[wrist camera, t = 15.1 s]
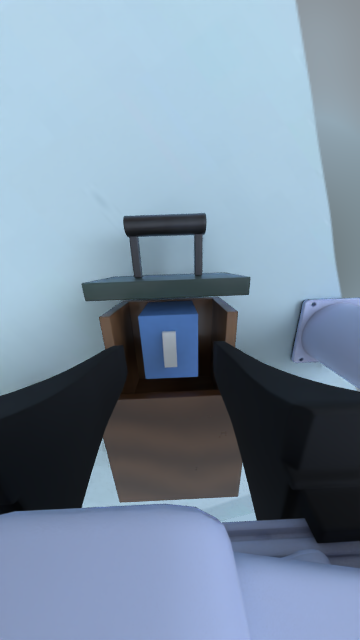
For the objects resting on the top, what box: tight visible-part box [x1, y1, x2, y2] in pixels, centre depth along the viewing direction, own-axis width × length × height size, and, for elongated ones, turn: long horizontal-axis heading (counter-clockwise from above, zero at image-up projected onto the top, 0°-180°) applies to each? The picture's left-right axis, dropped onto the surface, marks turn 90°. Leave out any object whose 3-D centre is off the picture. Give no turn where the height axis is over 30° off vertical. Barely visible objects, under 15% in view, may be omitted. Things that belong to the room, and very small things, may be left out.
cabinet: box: [103, 390, 242, 502], centre depth 19 cm, size 13×12×8 cm
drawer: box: [82, 213, 250, 394], centre depth 15 cm, size 17×11×6 cm, turn 2°
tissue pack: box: [138, 301, 198, 379], centre depth 15 cm, size 4×6×5 cm
